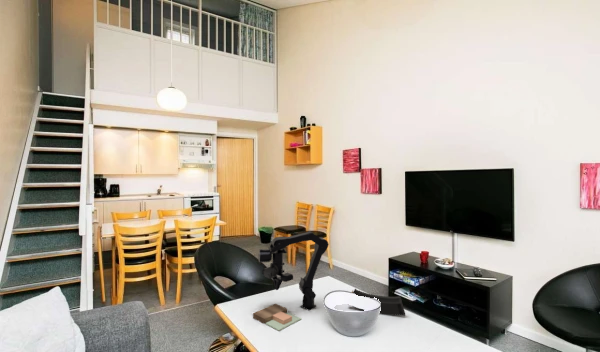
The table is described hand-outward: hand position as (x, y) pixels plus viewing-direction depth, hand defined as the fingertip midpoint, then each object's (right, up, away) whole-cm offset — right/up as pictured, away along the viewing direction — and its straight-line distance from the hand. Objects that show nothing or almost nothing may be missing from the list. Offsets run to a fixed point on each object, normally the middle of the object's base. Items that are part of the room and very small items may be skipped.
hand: (277, 289), depth 165 cm
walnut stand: (-3, -11, -7) cm, 13 cm away
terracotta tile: (+4, -11, -12) cm, 17 cm away
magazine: (+54, -12, 0) cm, 55 cm away
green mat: (+4, -11, -13) cm, 18 cm away
